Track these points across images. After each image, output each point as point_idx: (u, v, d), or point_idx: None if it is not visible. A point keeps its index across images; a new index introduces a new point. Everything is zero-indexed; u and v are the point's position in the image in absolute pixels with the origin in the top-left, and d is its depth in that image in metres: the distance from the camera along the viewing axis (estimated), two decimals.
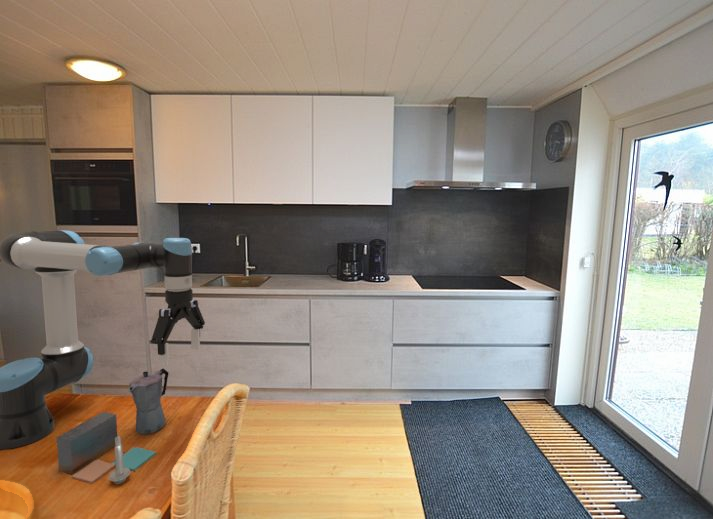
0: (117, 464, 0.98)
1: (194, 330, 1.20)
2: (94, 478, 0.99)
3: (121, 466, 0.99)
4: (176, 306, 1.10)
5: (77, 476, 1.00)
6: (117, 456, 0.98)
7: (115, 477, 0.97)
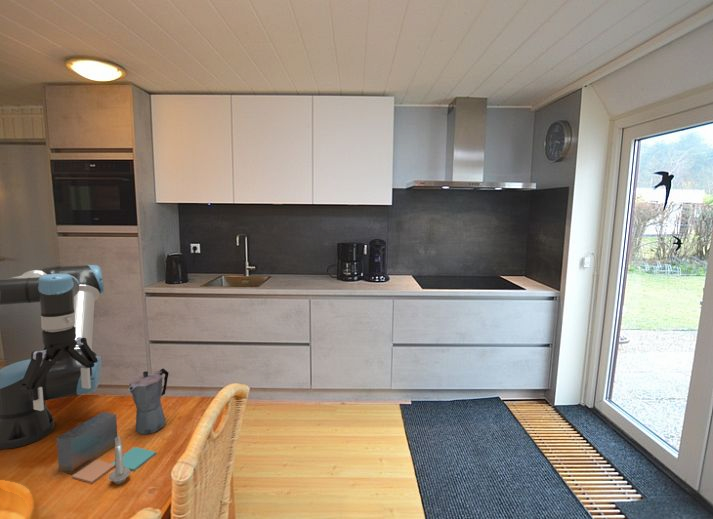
0: (117, 464, 0.98)
1: (84, 369, 1.14)
2: (94, 478, 0.99)
3: (121, 466, 0.99)
4: (54, 347, 1.04)
5: (77, 476, 1.00)
6: (117, 456, 0.98)
7: (115, 477, 0.97)
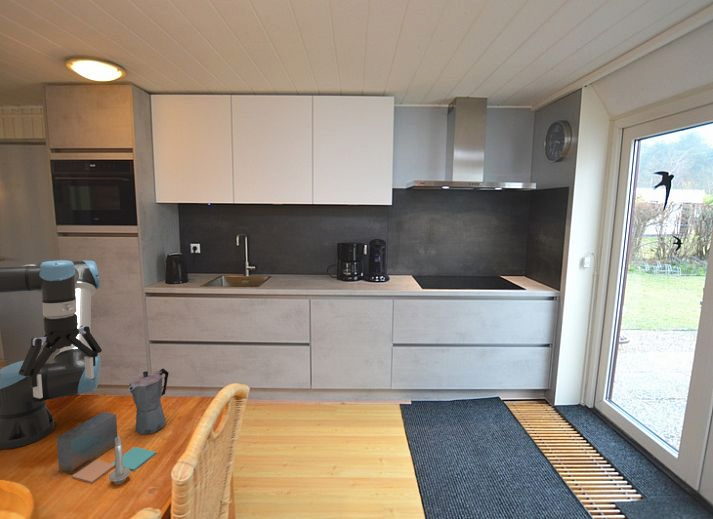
0: (117, 464, 0.98)
1: (87, 358, 1.12)
2: (94, 478, 0.99)
3: (121, 466, 0.99)
4: (54, 334, 1.02)
5: (77, 476, 1.00)
6: (117, 456, 0.98)
7: (115, 477, 0.97)
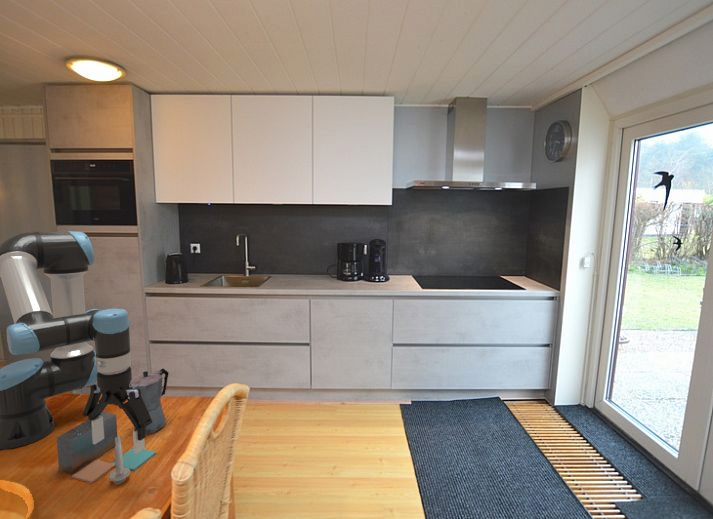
0: (117, 464, 0.98)
1: None
2: (94, 478, 0.99)
3: (121, 466, 0.99)
4: None
5: (77, 476, 1.00)
6: (117, 456, 0.98)
7: (115, 477, 0.97)
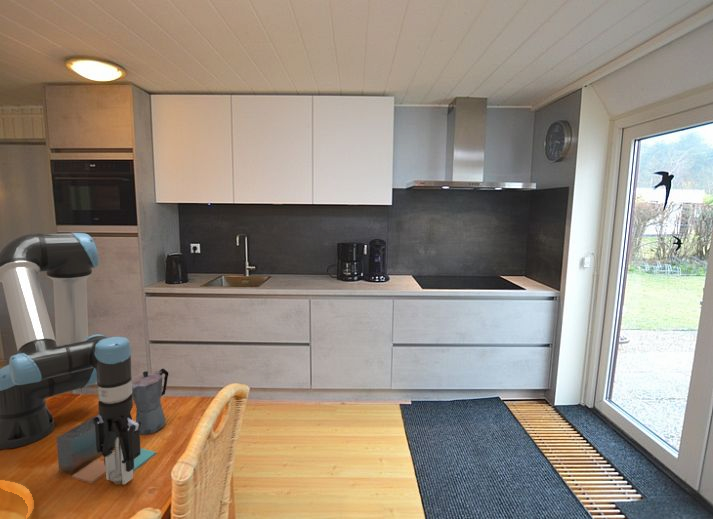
0: (117, 464, 0.98)
1: None
2: (94, 478, 0.99)
3: (121, 466, 0.99)
4: None
5: (77, 476, 1.00)
6: (117, 456, 0.98)
7: (115, 477, 0.97)
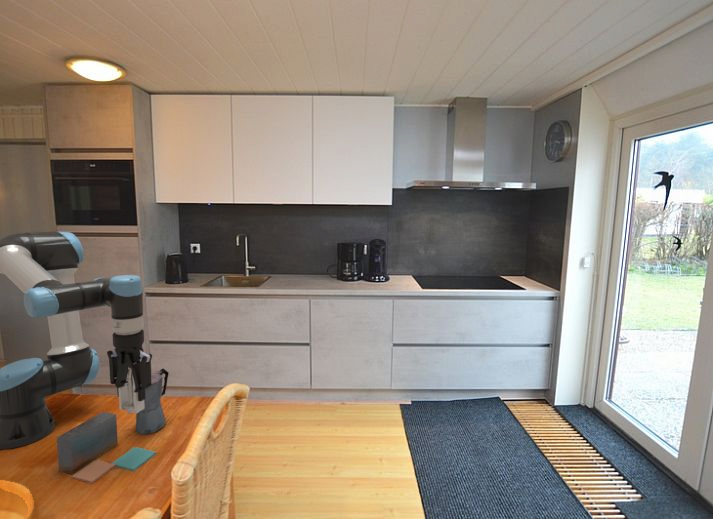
0: (129, 395, 1.05)
1: None
2: (94, 478, 0.99)
3: (133, 397, 1.05)
4: None
5: (77, 476, 1.00)
6: (130, 387, 1.04)
7: (128, 406, 1.04)
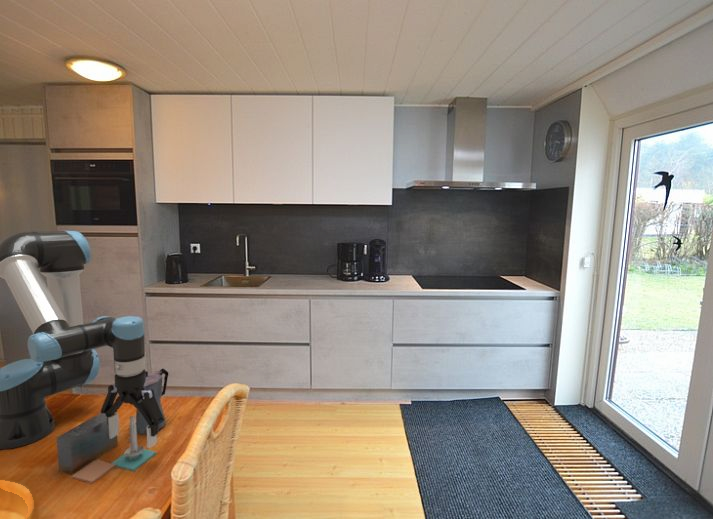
0: (132, 441, 1.07)
1: None
2: (94, 478, 0.99)
3: (135, 443, 1.07)
4: None
5: (77, 476, 1.00)
6: (132, 434, 1.06)
7: (130, 453, 1.06)
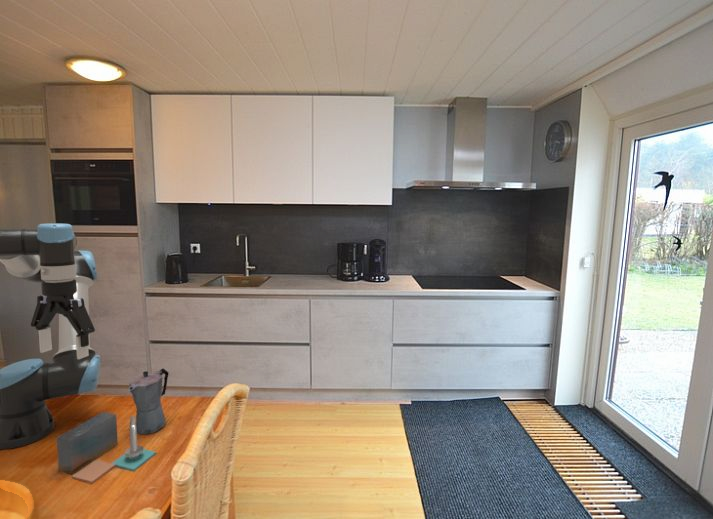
0: (132, 442, 1.06)
1: None
2: (94, 478, 0.99)
3: (135, 444, 1.07)
4: (49, 297, 1.01)
5: (77, 476, 1.00)
6: (132, 434, 1.06)
7: (130, 453, 1.06)
